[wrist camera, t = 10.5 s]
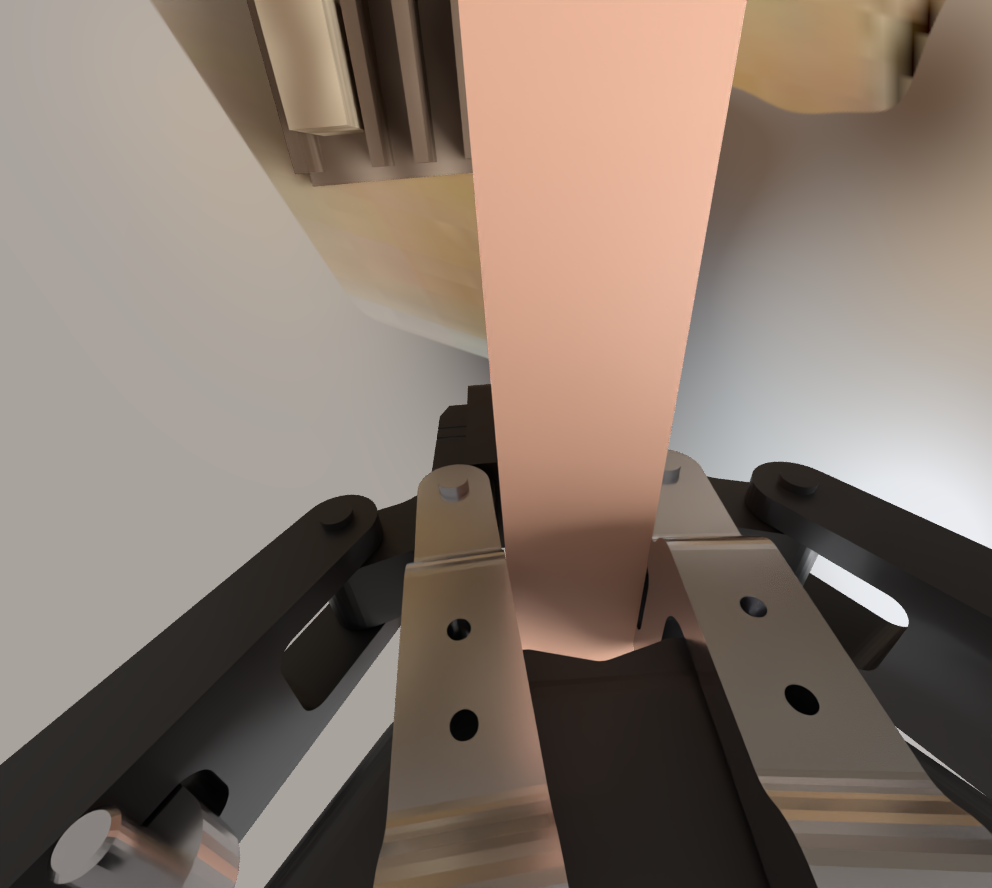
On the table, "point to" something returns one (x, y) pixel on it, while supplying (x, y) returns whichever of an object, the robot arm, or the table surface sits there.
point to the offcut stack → (312, 65)
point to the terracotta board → (590, 280)
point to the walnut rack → (392, 96)
